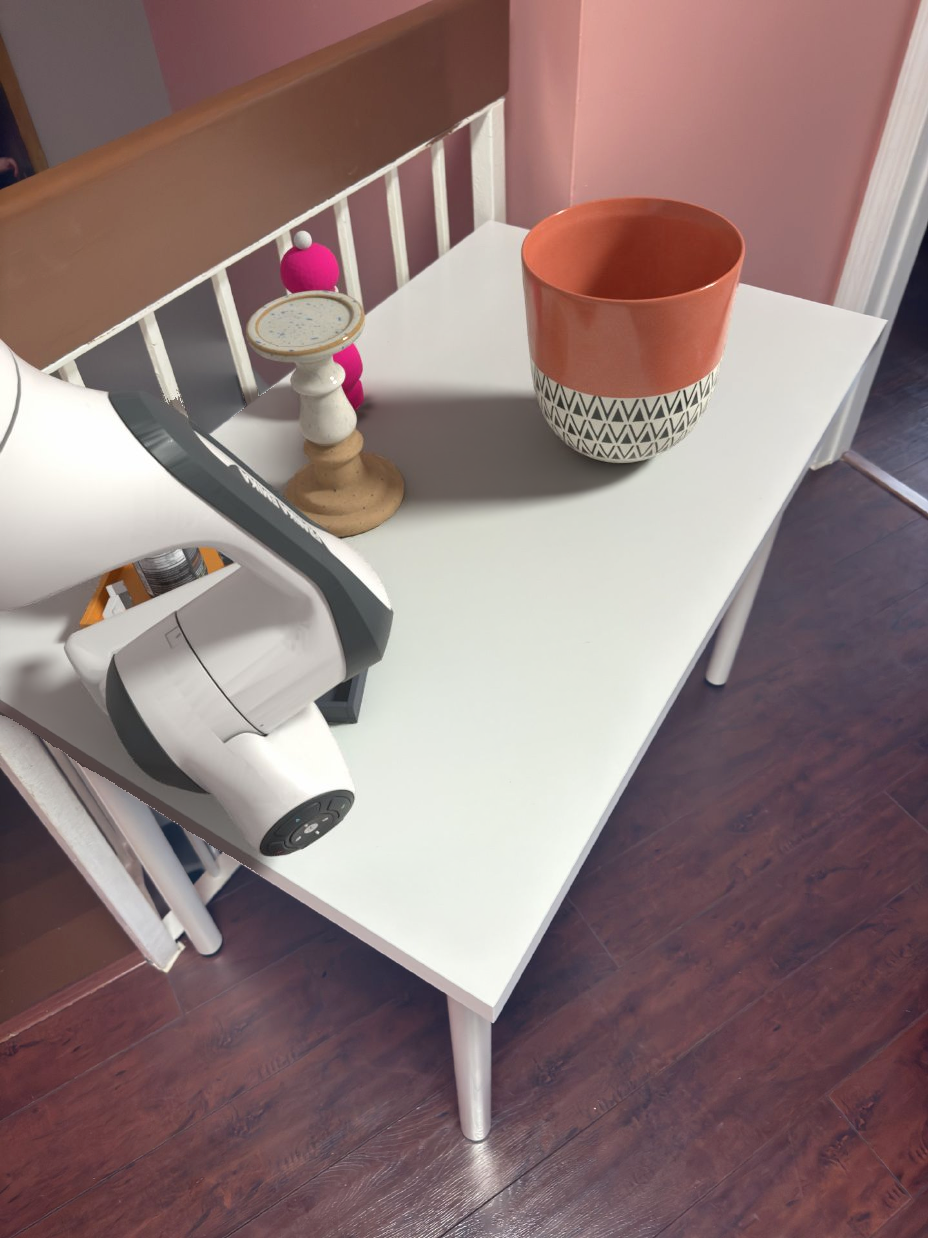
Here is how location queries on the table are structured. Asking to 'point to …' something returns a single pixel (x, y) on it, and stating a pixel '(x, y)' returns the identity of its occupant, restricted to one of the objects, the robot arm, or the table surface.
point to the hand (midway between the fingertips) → (170, 565)
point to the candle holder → (327, 412)
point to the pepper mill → (320, 271)
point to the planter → (628, 320)
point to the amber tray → (133, 586)
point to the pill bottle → (170, 570)
